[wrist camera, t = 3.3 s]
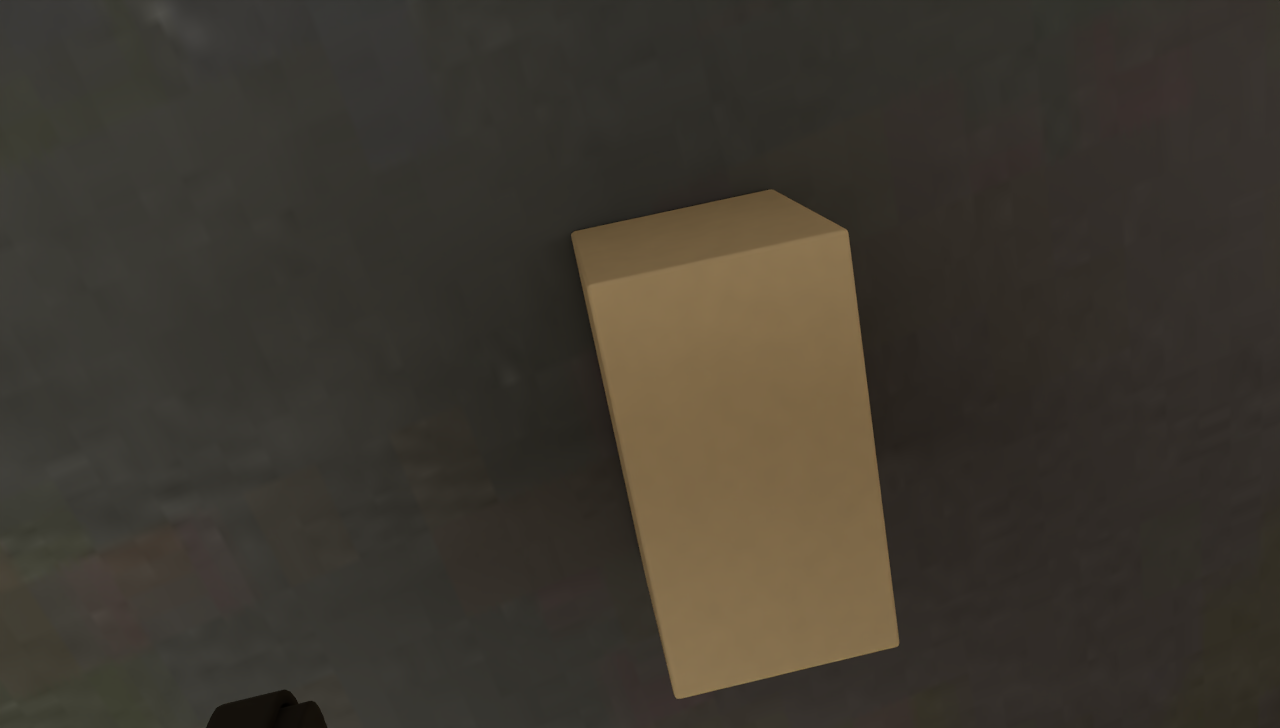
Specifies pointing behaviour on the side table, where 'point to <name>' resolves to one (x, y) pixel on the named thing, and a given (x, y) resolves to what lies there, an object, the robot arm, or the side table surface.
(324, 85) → the side table surface
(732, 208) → the tan rectangular block
